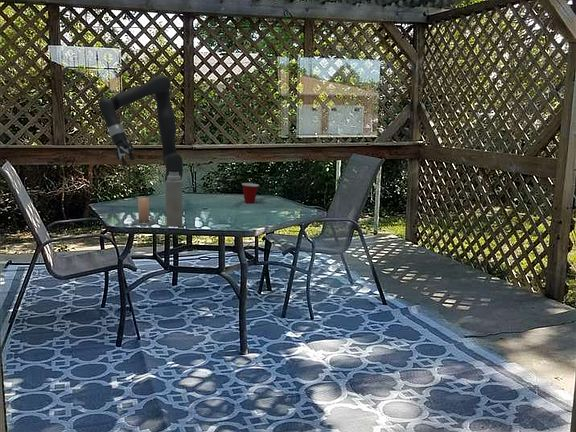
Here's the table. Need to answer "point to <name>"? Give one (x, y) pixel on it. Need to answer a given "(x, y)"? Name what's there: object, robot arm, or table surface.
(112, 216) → the table surface
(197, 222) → the table surface
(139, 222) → the coaster
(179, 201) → the thermos bottle
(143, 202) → the tan tapered cylinder
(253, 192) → the plastic cup
